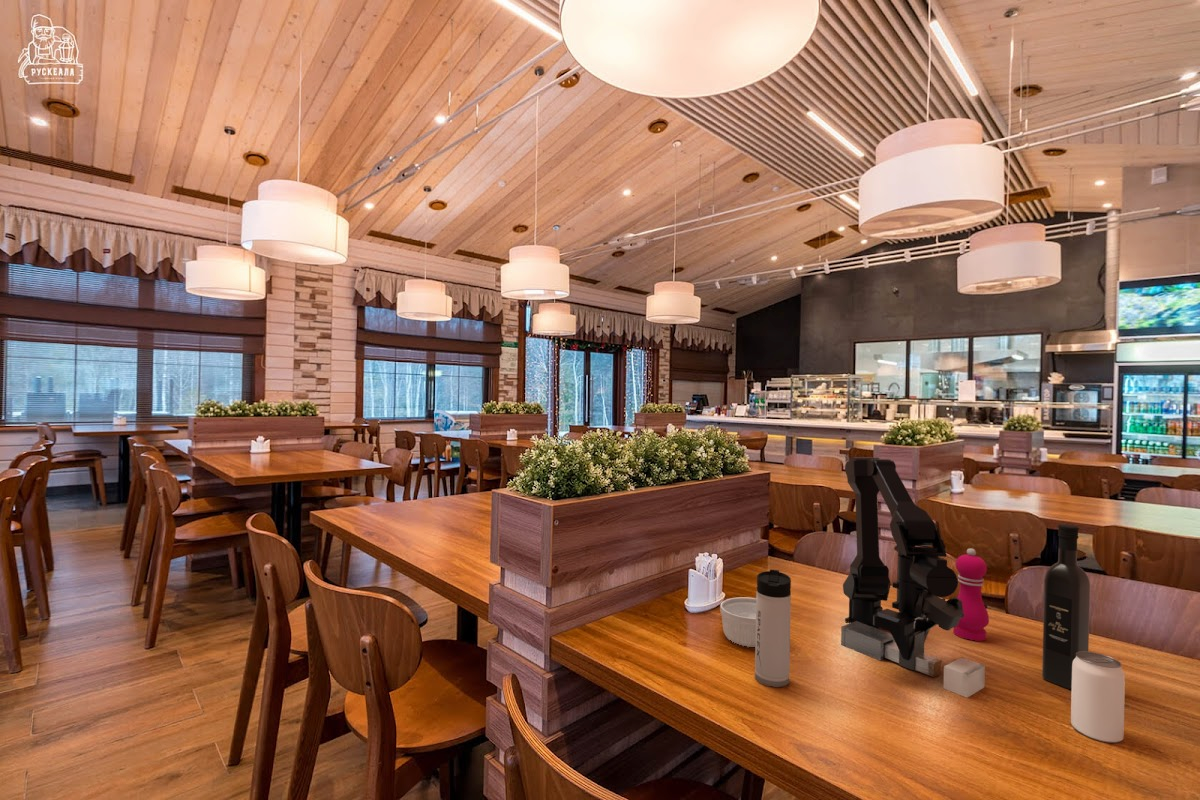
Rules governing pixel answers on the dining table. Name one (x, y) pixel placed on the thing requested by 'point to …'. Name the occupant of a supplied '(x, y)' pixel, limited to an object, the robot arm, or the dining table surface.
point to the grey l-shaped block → (914, 656)
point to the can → (1098, 697)
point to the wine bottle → (1065, 611)
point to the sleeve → (865, 639)
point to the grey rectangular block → (964, 677)
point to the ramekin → (739, 620)
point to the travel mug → (773, 628)
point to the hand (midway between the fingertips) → (911, 656)
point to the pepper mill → (971, 597)
